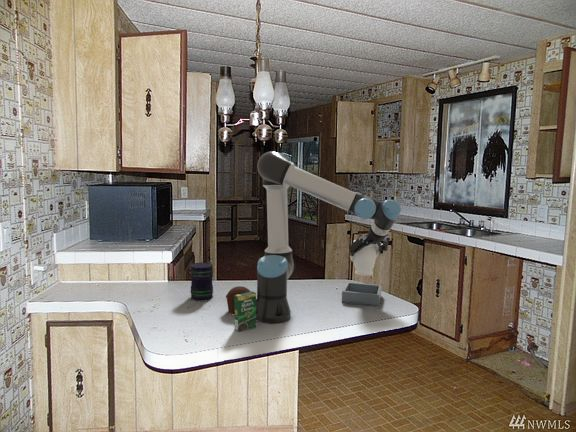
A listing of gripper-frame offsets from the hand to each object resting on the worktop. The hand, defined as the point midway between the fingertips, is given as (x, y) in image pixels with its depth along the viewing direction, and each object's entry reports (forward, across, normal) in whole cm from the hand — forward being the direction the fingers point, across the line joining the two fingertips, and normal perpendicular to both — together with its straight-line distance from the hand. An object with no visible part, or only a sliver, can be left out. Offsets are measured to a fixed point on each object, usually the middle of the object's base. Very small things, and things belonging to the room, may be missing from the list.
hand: (362, 258), depth 188 cm
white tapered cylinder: (+3, 0, -6) cm, 7 cm away
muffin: (+6, -57, -20) cm, 61 cm away
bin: (+11, -1, -15) cm, 18 cm away
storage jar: (+21, -72, -5) cm, 75 cm away
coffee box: (-7, -58, -33) cm, 67 cm away
